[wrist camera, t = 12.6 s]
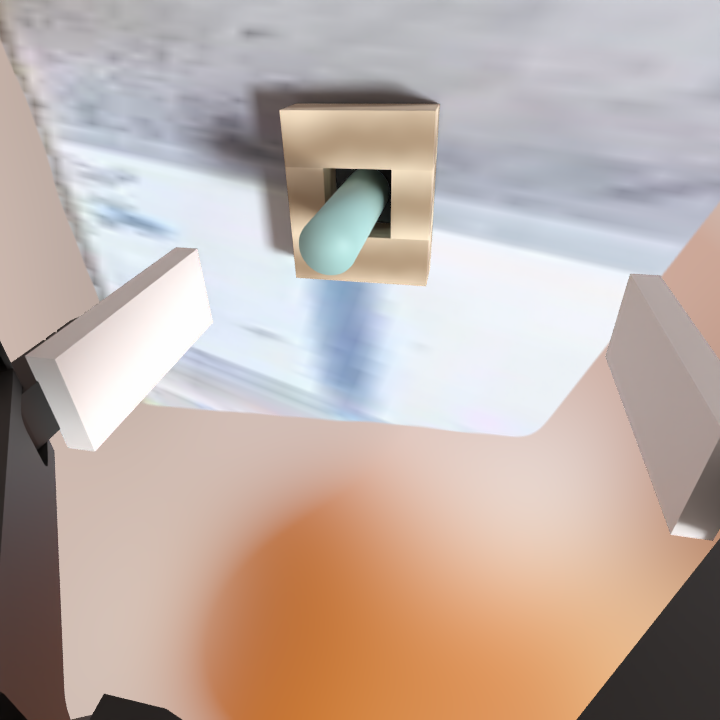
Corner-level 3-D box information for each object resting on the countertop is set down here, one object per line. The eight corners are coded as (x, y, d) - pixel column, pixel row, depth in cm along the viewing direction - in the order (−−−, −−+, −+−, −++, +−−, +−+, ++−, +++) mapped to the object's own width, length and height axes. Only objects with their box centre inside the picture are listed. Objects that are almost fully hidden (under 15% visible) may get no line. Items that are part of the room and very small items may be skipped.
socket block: (295, 103, 42) (279, 110, 39) (439, 103, 40) (435, 110, 36) (308, 261, 50) (296, 277, 46) (429, 268, 47) (425, 286, 44)
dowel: (344, 167, 44) (296, 216, 32) (389, 168, 43) (356, 218, 32) (346, 212, 46) (301, 273, 35) (389, 214, 45) (357, 276, 34)
